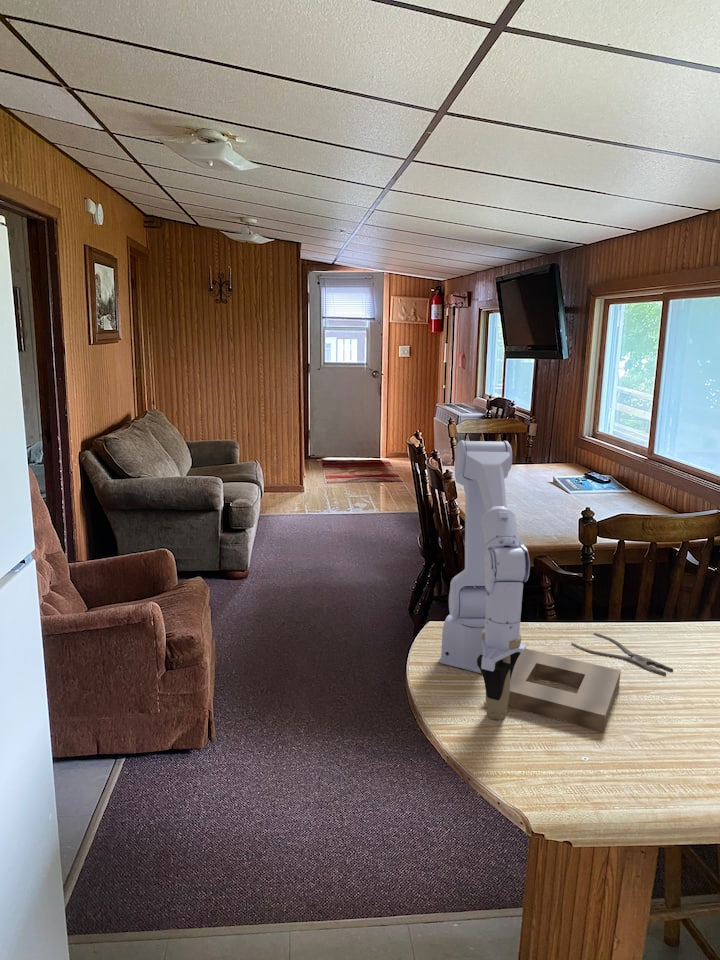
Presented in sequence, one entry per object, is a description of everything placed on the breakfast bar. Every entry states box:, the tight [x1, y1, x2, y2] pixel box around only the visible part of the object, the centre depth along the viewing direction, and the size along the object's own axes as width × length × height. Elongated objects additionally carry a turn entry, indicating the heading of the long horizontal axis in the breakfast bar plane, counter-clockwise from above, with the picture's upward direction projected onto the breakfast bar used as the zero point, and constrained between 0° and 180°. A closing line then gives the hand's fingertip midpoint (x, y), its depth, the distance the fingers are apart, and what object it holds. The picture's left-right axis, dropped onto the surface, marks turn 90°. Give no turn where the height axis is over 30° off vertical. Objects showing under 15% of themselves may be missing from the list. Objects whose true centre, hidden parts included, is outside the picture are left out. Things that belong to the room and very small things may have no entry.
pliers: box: [570, 632, 674, 677], centre depth 145 cm, size 10×1×20 cm
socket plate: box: [507, 648, 622, 733], centre depth 128 cm, size 20×18×3 cm
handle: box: [482, 629, 522, 721], centre depth 119 cm, size 5×6×15 cm
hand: (497, 692), depth 119 cm, fingers closed on handle, 4 cm apart
